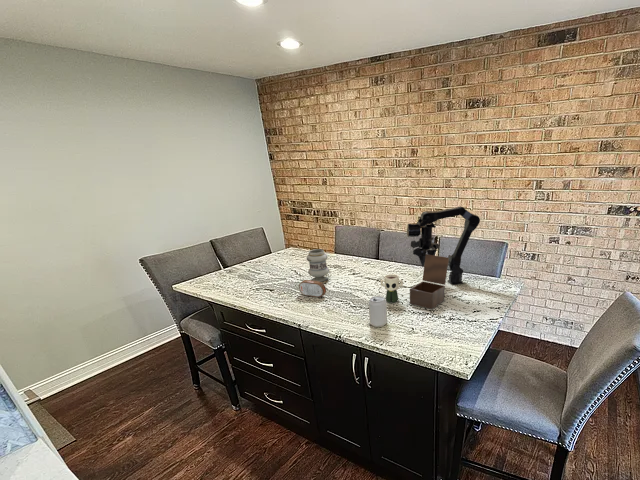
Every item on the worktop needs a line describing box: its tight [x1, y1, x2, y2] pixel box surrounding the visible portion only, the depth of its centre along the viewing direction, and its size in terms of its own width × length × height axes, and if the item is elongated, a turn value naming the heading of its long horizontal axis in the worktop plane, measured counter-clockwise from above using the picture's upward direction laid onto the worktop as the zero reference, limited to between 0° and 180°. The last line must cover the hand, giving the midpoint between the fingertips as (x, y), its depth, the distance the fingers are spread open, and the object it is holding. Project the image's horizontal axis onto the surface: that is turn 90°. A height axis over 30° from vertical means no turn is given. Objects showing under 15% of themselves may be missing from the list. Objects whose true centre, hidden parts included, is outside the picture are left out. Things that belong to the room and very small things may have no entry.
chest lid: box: [422, 253, 449, 286], centre depth 167 cm, size 13×13×1 cm
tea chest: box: [409, 281, 446, 310], centre depth 166 cm, size 13×13×8 cm
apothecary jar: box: [306, 248, 330, 284], centre depth 196 cm, size 12×12×18 cm
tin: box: [298, 279, 327, 298], centre depth 175 cm, size 15×3×8 cm, turn 71°
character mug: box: [380, 273, 404, 303], centre depth 167 cm, size 11×7×13 cm, turn 83°
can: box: [368, 295, 388, 328], centre depth 144 cm, size 8×8×12 cm
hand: (426, 264), depth 186 cm, fingers open, 7 cm apart
